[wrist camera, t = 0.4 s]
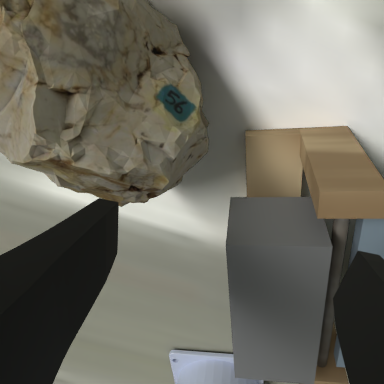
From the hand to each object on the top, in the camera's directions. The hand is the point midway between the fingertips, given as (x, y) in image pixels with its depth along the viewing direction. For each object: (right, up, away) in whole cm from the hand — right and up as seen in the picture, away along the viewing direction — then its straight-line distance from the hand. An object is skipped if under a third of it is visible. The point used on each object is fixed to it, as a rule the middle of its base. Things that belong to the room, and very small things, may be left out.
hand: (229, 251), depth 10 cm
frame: (+5, 0, +11) cm, 12 cm away
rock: (-5, +9, +7) cm, 12 cm away
